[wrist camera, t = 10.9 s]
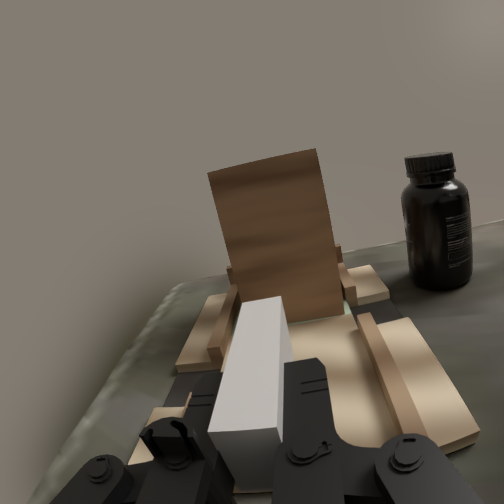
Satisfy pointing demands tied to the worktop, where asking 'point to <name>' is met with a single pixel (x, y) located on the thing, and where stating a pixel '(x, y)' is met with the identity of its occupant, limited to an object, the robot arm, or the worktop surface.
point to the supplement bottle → (437, 223)
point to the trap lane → (342, 367)
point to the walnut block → (280, 234)
